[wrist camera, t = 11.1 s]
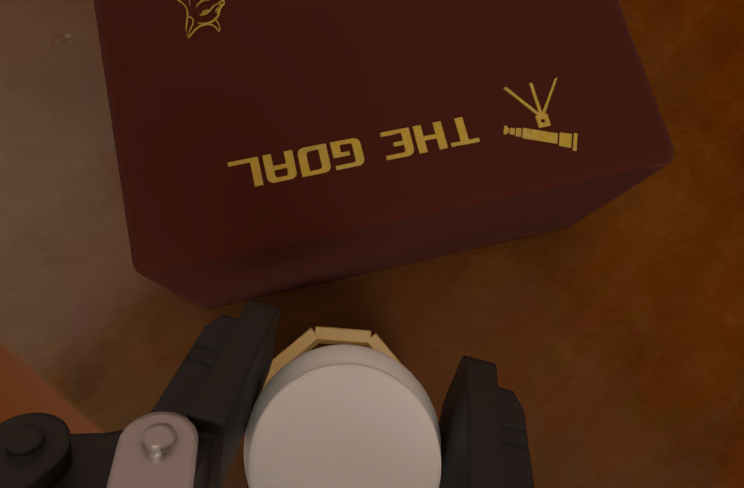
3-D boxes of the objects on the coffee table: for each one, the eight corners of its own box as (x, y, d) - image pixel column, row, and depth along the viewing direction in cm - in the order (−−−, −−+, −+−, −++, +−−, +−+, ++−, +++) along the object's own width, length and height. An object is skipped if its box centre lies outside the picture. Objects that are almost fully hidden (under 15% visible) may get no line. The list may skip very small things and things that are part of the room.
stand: (399, 477, 27) (408, 492, 24) (260, 468, 27) (250, 481, 24) (407, 338, 29) (417, 333, 26) (276, 328, 29) (268, 321, 25)
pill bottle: (439, 411, 17) (517, 434, 10) (355, 535, 16) (370, 665, 9) (329, 326, 18) (323, 286, 10) (239, 442, 17) (162, 491, 9)
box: (493, -25, 34) (556, -182, 25) (576, 226, 31) (685, 157, 21) (151, 32, 32) (71, -118, 22) (198, 310, 29) (129, 276, 19)
